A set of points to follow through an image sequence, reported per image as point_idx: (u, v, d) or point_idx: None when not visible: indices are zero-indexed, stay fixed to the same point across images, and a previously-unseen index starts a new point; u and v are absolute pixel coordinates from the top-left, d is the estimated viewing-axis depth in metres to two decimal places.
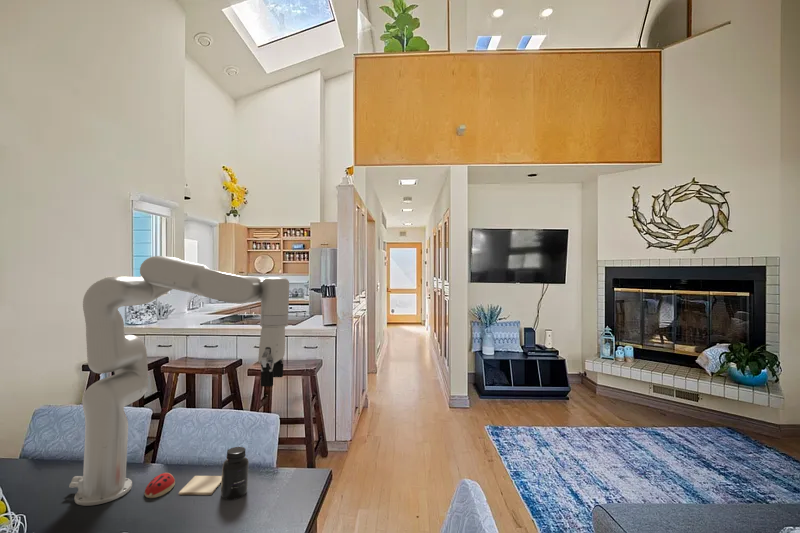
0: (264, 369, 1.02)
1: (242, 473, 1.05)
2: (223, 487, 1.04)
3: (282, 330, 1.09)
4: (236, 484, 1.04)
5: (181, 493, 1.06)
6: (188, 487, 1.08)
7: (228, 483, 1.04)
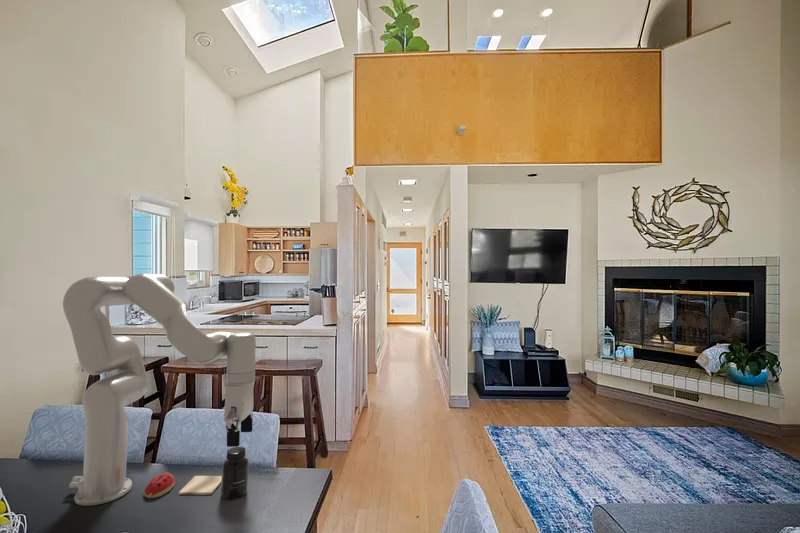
0: (229, 430, 1.01)
1: (242, 473, 1.05)
2: (223, 487, 1.04)
3: (249, 386, 1.08)
4: (236, 484, 1.04)
5: (181, 493, 1.06)
6: (188, 487, 1.08)
7: (228, 483, 1.04)
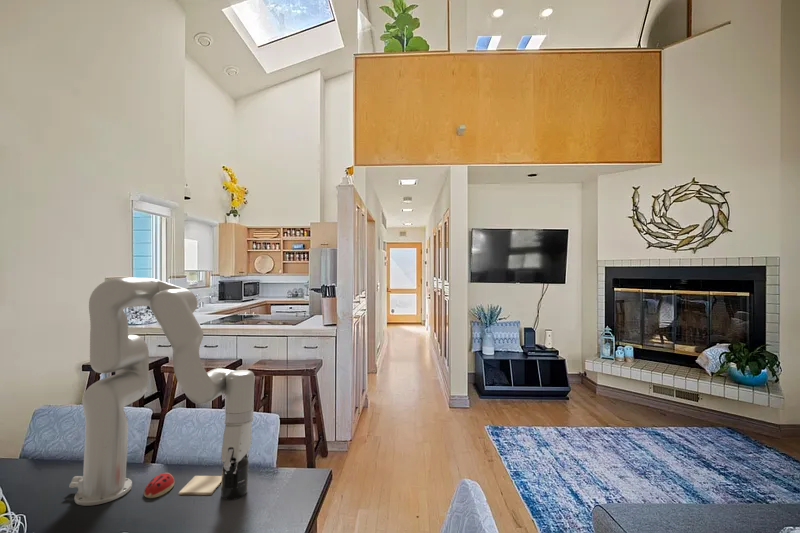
0: (228, 472, 1.02)
1: (242, 473, 1.05)
2: (223, 487, 1.04)
3: (247, 426, 1.07)
4: None
5: (181, 493, 1.06)
6: (188, 487, 1.08)
7: None
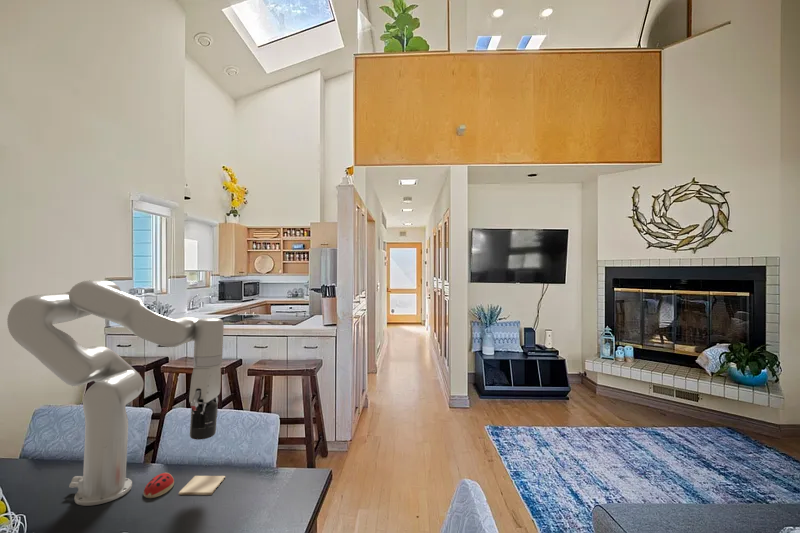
0: (195, 412, 1.06)
1: (210, 415, 1.09)
2: (191, 427, 1.08)
3: (215, 370, 1.11)
4: None
5: (181, 493, 1.06)
6: (188, 487, 1.08)
7: None
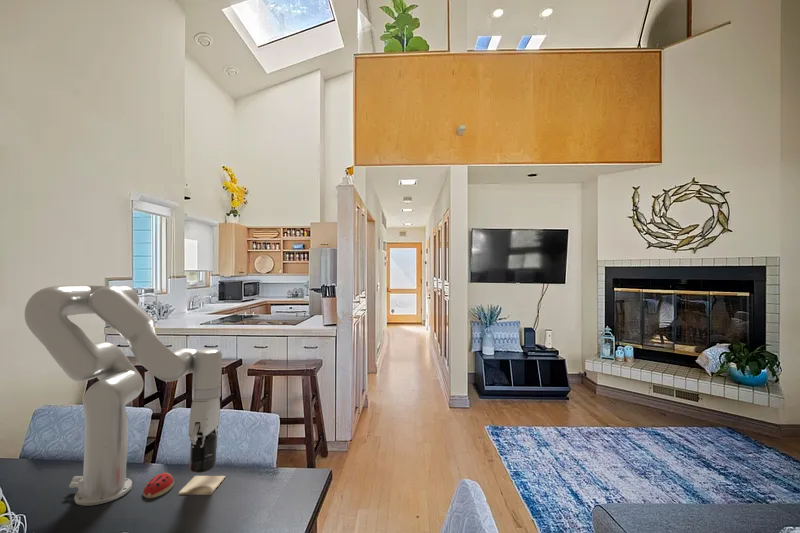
0: (195, 446, 1.06)
1: (210, 447, 1.09)
2: (191, 460, 1.08)
3: (214, 402, 1.11)
4: None
5: (181, 493, 1.06)
6: (188, 487, 1.08)
7: None
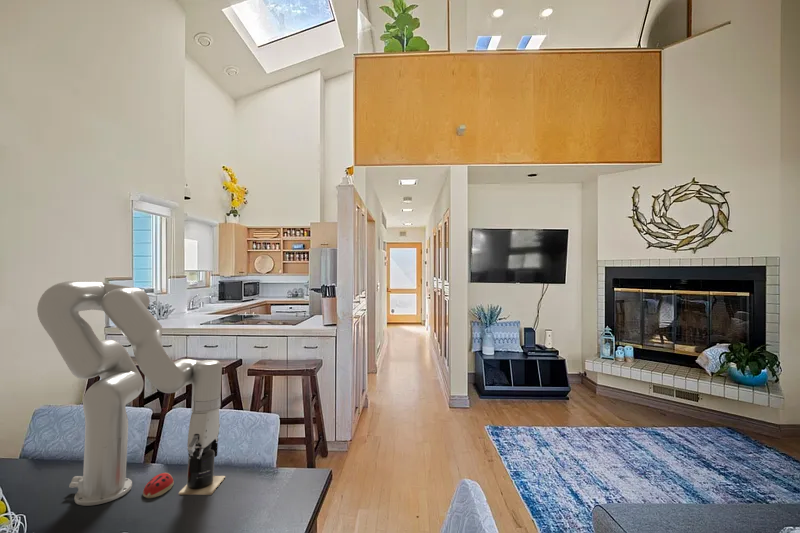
0: (192, 457, 1.04)
1: (208, 463, 1.09)
2: (189, 477, 1.08)
3: (213, 413, 1.11)
4: (202, 474, 1.08)
5: (181, 493, 1.06)
6: None
7: (194, 473, 1.07)
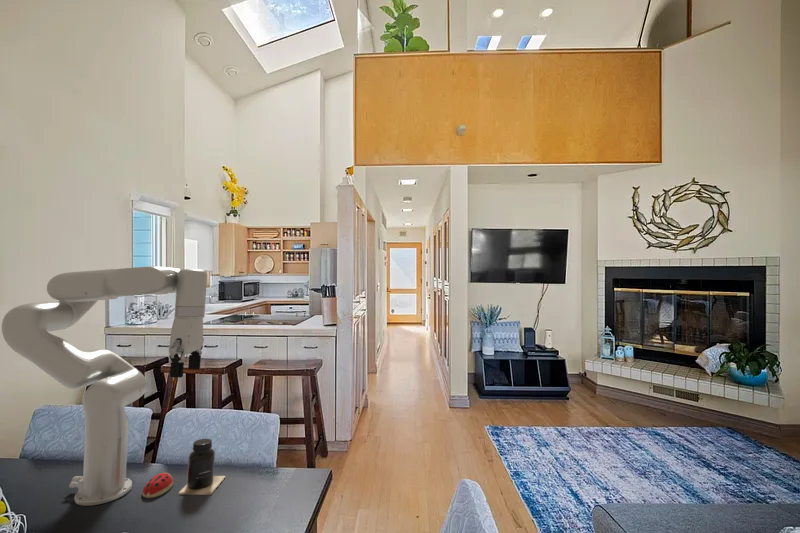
0: (173, 360, 1.02)
1: (208, 464, 1.09)
2: (189, 477, 1.08)
3: (197, 322, 1.09)
4: (202, 474, 1.08)
5: (181, 493, 1.06)
6: None
7: (194, 473, 1.07)
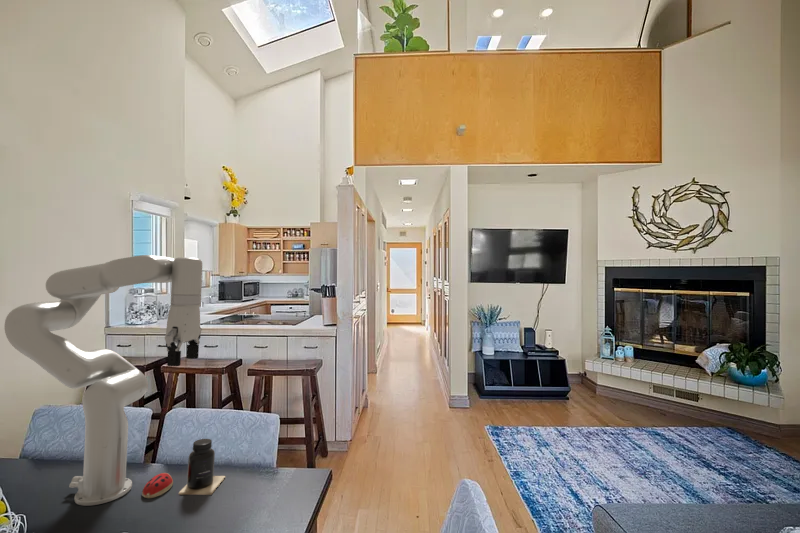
0: (169, 348, 1.01)
1: (208, 464, 1.09)
2: (189, 477, 1.08)
3: (193, 310, 1.08)
4: (202, 474, 1.08)
5: (181, 493, 1.06)
6: None
7: (194, 473, 1.07)
